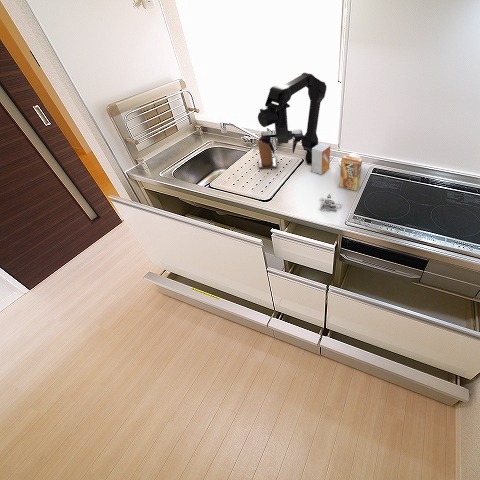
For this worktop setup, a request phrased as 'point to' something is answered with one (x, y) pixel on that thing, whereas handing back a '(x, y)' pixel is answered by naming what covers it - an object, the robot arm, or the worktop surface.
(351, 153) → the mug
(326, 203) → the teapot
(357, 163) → the candy box
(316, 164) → the small box
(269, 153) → the brown hollow cylinder
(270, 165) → the holder
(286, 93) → the robot arm
